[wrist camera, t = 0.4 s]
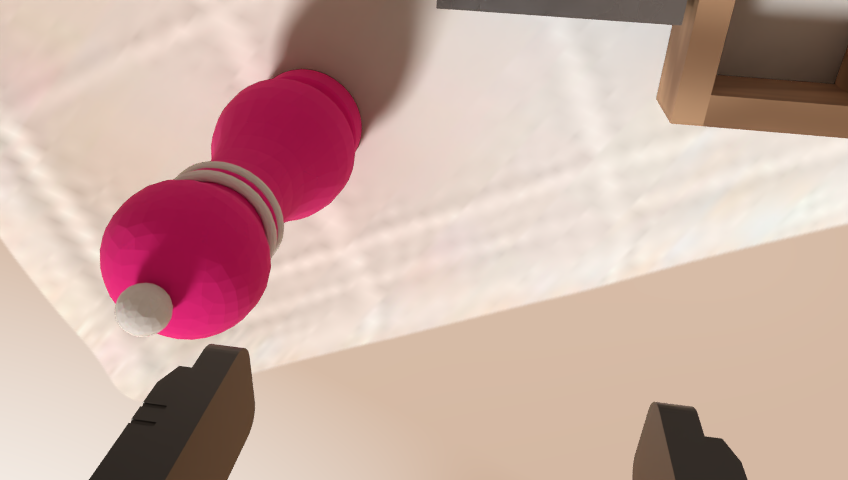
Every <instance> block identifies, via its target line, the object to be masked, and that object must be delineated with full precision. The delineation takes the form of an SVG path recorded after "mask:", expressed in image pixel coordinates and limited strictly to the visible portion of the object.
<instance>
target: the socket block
mask: <svg viewBox="0 0 848 480" xmlns="http://www.w3.org/2000/svg"><path fill="white" fill-rule="evenodd" d="M686 4H687V0H437V8H440V9H454V10H469V11H483V12H497V13H511V14H525V15H540V16H554V17H568V18H582V19H596V20H611V21H625V22H639V23H653V24H667V25H682V22H683V18H684V13H685V9H686Z"/></svg>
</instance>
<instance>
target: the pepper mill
mask: <svg viewBox="0 0 848 480" xmlns="http://www.w3.org/2000/svg"><path fill="white" fill-rule="evenodd" d="M361 132H362V124H361V117H360V113H359V110H358V107H357V105H356V103H355V101H354V99H353V98H352V96H351V95H350V93H349V92H348V91H347V90H346V89H345V88H344V87H343V86H342V85H341V84H340V83H339V82H338V81H336V80H335V79H333V78H332V77H330V76H328V75H326V74H323V73H320V72H317V71H314V70H307V69H298V70H291V71H287V72H284V73H282V74H280V75H278V76H276V77H275V78H273V79H269V80H264V81H260V82H257V83H255V84H253V85H250V86H248V87H247V88H245V89H244V90H242V91H241V92H239V93H238V94H237V95H236V96H235V97H234V98H233V99H232V100H231V101H230V103H229V104H228V105H227V106H226V107H225V108H224V110H223V111H222V113H221V115H220V117H219V119H218V122H217V124H216V127H215V131H214V134H213V137H212V144H211V155H212V160H211V161H209V162H202V163H198V164H195V165H193V166H190V167H188V168H187V169H185V170H184V171H183V172H181V173H180V174H179V175H178V176H177V177H176V178H175V179H173V180H166V181H162V182H159V183H156V184H153V185H150V186H147V187H145V188H144V189H142V190H141V191H139V192H137V193H136V194H134V195H133V196H132V197H130V198H129V199H128V200H127V201H126V202H124V204H123V205H122V206H121V207H120V208H119V209H118V211H117V212H116V213H115V214H114V215H113V217H112V219H111V220H110V222H109V224H108V226H107V227H106V229H105V232H104V235H103V238H102V243H101V248H100V268H101V273H102V277H103V280H104V283H105V285H106V288H107V290H108V293H109V295H110V297H111V298H112V299H113V301H114V302H115V303H116V305H115V317H116V321H117V322H118V324H119V326H120V327H121V328H122V329H123V330H124V331H125V332H127V333H129V334H131V335H134V336H138V337H147V336H151V335H154V334H160V335H163V336H166V337H171V338H175V339H190V340H193V339H200V338H206V337H210V336H213V335H216V334H219V333H222V332H224V331H226V330H227V329H229V328H231V327H233V326H235V325H236V324H237V323H239V322H240V321H241V320H243V319H244V318H245V316H246V315H247V314H248V313H249V312H250V311H251V310H252V309H253V308H254V307H255V306H256V304H257V303H258V301H259V300H260V298H261V296H262V295H263V293H264V291H265V289H266V287H267V282H268V278H269V273H270V269H271V258H272V256H273V255H274V254H275V252H276V251H277V249H278V248H279V245H280V243H281V241H282V238H283V232H284V223H285V222H287V221H292V220H298V219H302V218H305V217H308V216H310V215H312V214H314V213H316V212H318V211H319V210H321V209H322V208H324V207H326V206H327V205H329V204H330V203H331V202H332V201H333V200H334V198H335V197H336V196H337V195H338V194H339V193H340V192H341V190H342V189H343V188H344V187H345V185H346V183H347V182H348V180H349V178H350V175H351V173H352V170H353V165H354V157H355V151H356V149H357V147H358V145H359V142H360V138H361Z"/></svg>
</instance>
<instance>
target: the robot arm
mask: <svg viewBox="0 0 848 480" xmlns="http://www.w3.org/2000/svg"><path fill="white" fill-rule="evenodd" d="M254 411H255V401H254V391H253V383H252V374H251V365H250V357H249V353H248V350H247V349H245V348H238V347H230V346H223V345H215V344H209V345H208V346H206V347H205V349H204V350H203V352H202V353H201V355H200V356H199V358H198V359H197V361H196V362H195V364H194V365H193V367H192V368H190V367H183V366H179V367H177V368H176V369H175V370H173V371H172V372H171V373H169V374H168V375H166V376H165V377H164V378H162V379H161V380H160V381H158V382H157V383H156V385H155V386H154V388H153V389H152V390H151V392H150V393H149V395H148V396H147V398H146V399H145V400H144V402H143V406H142V407H140V408H139V409H138V411H137V412H136V413H135V415H134V416H133V418H132V421H131V423H128V425H127V426H126V428H125V429H124V431H123V432H122V434H121V435H120V436H119V438H118V439H117V440H116V442H115V443H114V445H113V446H112V448H111V449H110V450H109V452H108V454H107V455H106V456H105V458H104V459H103V460H102V462H101V463H100V465H99V466H98V468H97V469H96V471H95V472H94V473H93V475H92V476H91V478H90V479H89V480H227V479H228V477H229V475H230V473H231V471H232V469H233V467H234V464H235V462H236V460H237V458H238V456H239V454H240V452H241V450H242V448H243V446H244V444H245V441H246V439H247V437H248V435H249V433H250V430H251V427H252V423H253V419H254ZM633 480H747V477H746V474H745V471H744V468H743V466H742V463H741V461H740V460H739V459H738V458H737V456H736V455H735V454H734V453H733V451H732V450H731V449H730V448H729V447H728V445H727V444H726V443H725V442H724V441H723V439H720V438H712V437H705V436H704V433H703V430H702V427H701V423H700V420H699V417H698V414H697V411H696V409H695V408H694V407H690V406H682V405H674V404H667V403H659V402H653V403H652V404H651V405H650V408H649V410H648V414H647V417H646V420H645V424H644V427H643V430H642V434H641V437H640V440H639V444H638V447H637V450H636V453H635V457H634V463H633Z"/></svg>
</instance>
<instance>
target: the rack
mask: <svg viewBox="0 0 848 480" xmlns="http://www.w3.org/2000/svg"><path fill="white" fill-rule="evenodd" d="M735 1H736V0H687V4H686V9H685V13H684V18H683V22H682V25H672V29H671V34H670V38H669V43H668V48H667V52H666V57H665V61H664V66H663V70H662V75H661V79H660V84H659V88H658V93H657V98H656V99H657V101H658V103H659V105H660V106H661V108H662V110H663V111H664V113H665V115H666V117H667V118H668V120H669V122H670V123H672V124H684V125H696V126H708V127H719V128H731V129H743V130H755V131H767V132H779V133H791V134H802V135H814V136H826V137H838V138H848V46H847V49H846V52H845V55H844V58H843V61H842V63H841V66H840V69H839V72H838V75H837V78H836V81H835V83H834V84H829V83H816V82H803V81H790V80H777V79H764V78H751V77H738V76H725V75H716V74H717V70H718V66H719V62H720V58H721V55H722V51H723V47H724V43H725V39H726V35H727V31H728V28H729V24H730V20H731V16H732V12H733V8H734V5H735Z"/></svg>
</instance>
